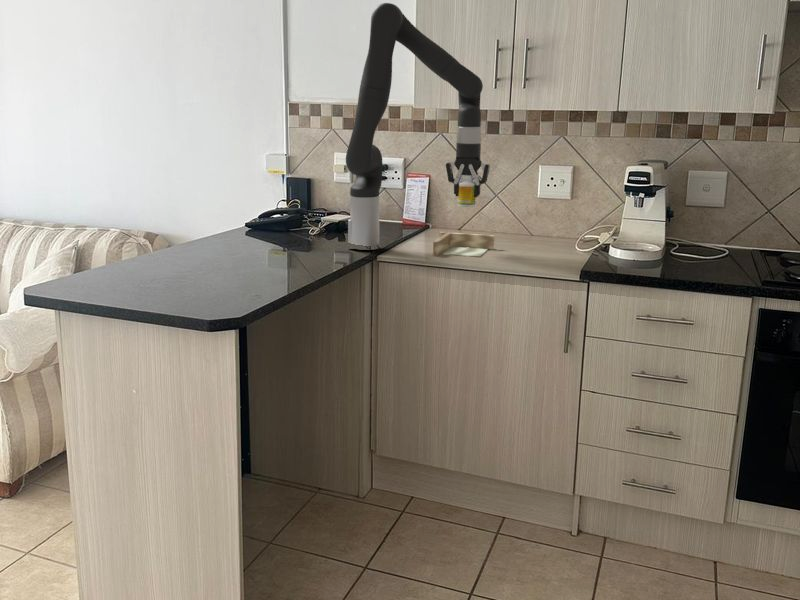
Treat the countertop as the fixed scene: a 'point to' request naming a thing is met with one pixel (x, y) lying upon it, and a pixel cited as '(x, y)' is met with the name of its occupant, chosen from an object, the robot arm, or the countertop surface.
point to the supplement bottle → (466, 191)
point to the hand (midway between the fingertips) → (466, 196)
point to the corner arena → (462, 244)
